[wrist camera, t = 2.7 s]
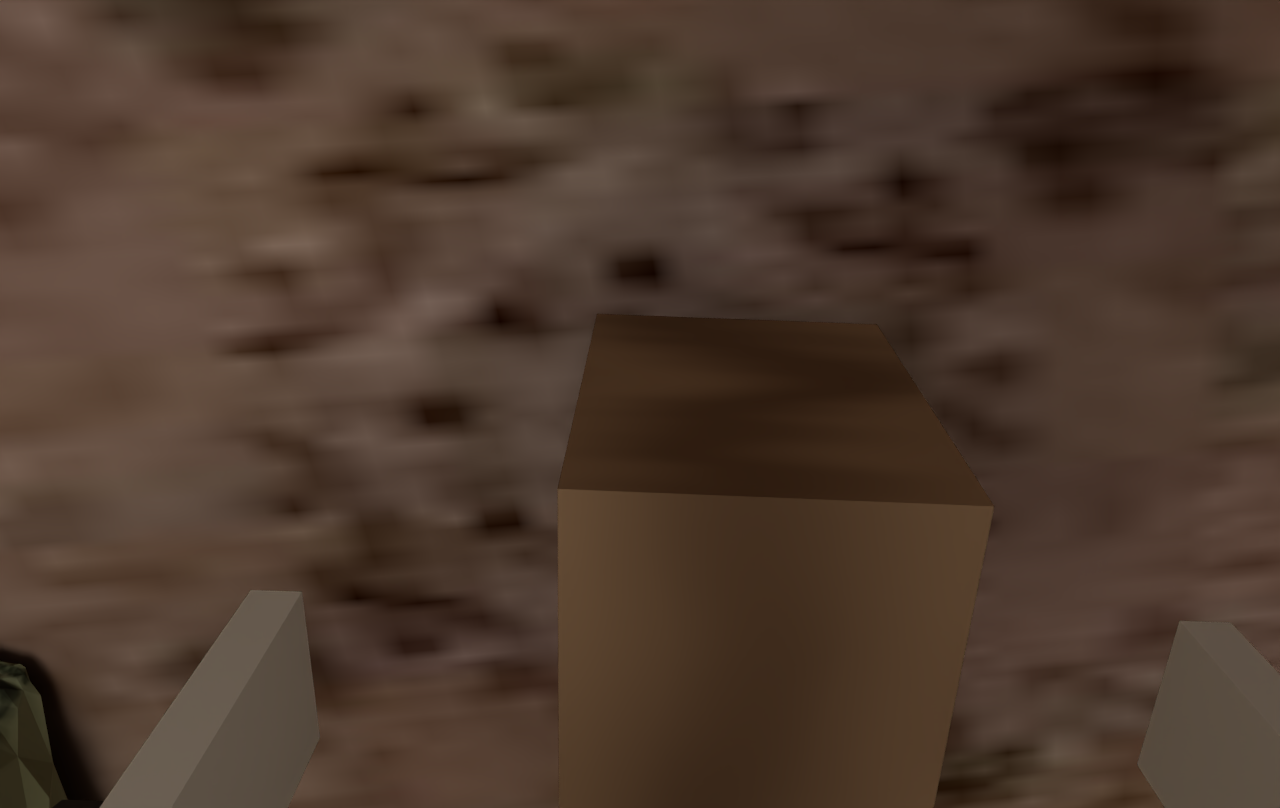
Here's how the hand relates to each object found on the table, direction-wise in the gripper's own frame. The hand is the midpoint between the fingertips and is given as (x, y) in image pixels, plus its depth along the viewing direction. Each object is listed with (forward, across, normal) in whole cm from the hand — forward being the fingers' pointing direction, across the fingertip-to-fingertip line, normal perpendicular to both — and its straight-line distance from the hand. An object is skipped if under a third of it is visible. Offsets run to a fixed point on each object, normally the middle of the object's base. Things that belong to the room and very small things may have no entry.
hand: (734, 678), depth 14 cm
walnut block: (+8, 0, 0) cm, 8 cm away
